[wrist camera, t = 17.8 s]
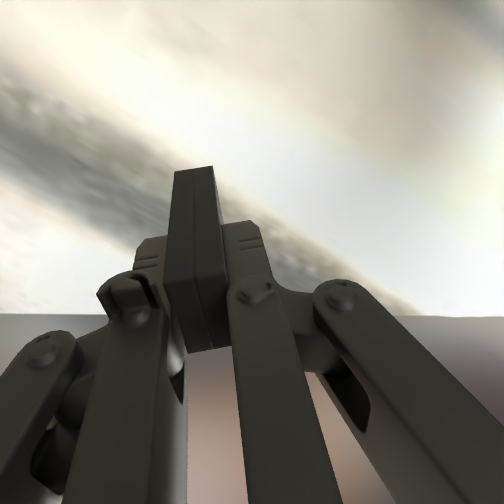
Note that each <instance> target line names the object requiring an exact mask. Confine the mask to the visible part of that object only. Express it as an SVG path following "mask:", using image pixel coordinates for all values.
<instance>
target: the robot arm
mask: <svg viewBox="0 0 504 504" xmlns="http://www.w3.org/2000/svg"><path fill="white" fill-rule="evenodd" d="M134 260H135V262H134V264H133V268H132V269H133V270H132V271H127V272H123V273H120V274H117V275H116V276H114V277H112V278H110V279H108V280H107V281H106V282H105V283H104V284H103V285H102V286H101V287H100V288H99V290H98V292H97V293H96V295H97V297H98V299H99V301H100V303H101V304H102V306H103V308H104V310H105V312H106V314H107V315H108V317H109V322H108V324H107V325H106V326H104V327H102V328H100V329H98V330H96V331H94V332H91V333H89V334H87V335H84V336H82V337H79V338H77V339H75V338H74V337H73V336H72V334H71V333H69V332H67V331H62V330H58V331H51V332H48V333H45V334H43V335H40V336H38V337H37V338H35V339H34V340H32V341H31V342H29V343H28V344H26V345H25V346H24V347H23V349H22V350H21V351H20V352H19V353H18V354H17V355H16V357H15V358H14V359H13V361H12V362H11V363H10V364H9V366H8V367H7V369H6V370H5V371H4V373H3V374H2V375H1V376H0V504H187V449H188V446H187V445H188V443H187V442H188V368H187V364H186V361H185V358H184V344H185V346H186V349H187V352H188V354H190V353H195V352H200V351H206V350H211V349H217V348H222V347H227V346H232V354H233V363H234V373H235V382H236V391H237V400H238V410H239V418H240V429H241V437H242V447H243V456H244V466H245V475H246V484H247V493H248V503H249V504H343V502H342V498H341V495H340V491H339V488H338V485H337V481H336V478H335V475H334V471H333V468H332V464H331V461H330V458H329V454H328V451H327V447H326V444H325V441H324V437H323V434H322V430H321V427H320V424H319V420H318V417H317V414H316V410H315V407H314V404H313V400H312V397H311V393H310V390H309V386H308V383H307V380H306V376H305V373H304V371H306V372H314V373H315V374H316V376H317V377H318V379H319V381H320V382H321V384H322V386H323V387H324V389H325V390H326V392H327V393H328V395H329V397H330V398H331V400H332V402H333V403H334V405H335V406H336V408H337V409H338V411H339V413H340V414H341V416H342V417H343V419H344V421H345V422H346V424H347V425H348V427H349V428H350V430H351V432H352V433H353V435H354V437H355V438H356V440H357V441H358V443H359V444H360V446H361V448H362V449H363V451H364V453H365V454H366V455H367V457H368V459H369V461H370V462H371V463H372V465H373V467H374V468H375V470H376V472H377V473H378V475H379V476H380V478H381V480H382V481H383V483H384V484H385V486H386V488H387V489H388V491H389V492H390V494H391V496H392V497H393V499H394V500H395V502H396V504H504V426H503V425H502V424H501V423H500V422H499V421H498V420H497V419H496V418H495V417H494V416H493V415H492V414H491V413H489V411H488V410H487V409H486V408H485V407H484V406H483V405H482V404H481V403H480V402H478V400H477V399H476V398H475V397H474V396H473V395H472V394H471V393H470V392H469V391H468V390H467V389H465V387H464V386H463V385H462V384H461V383H460V382H459V381H458V380H457V379H456V378H455V377H454V376H453V375H452V374H451V373H450V372H448V370H446V368H444V366H442V364H441V363H440V362H438V361H437V360H436V358H434V357H433V356H432V355H431V354H430V353H429V352H428V351H427V350H426V349H425V348H424V347H423V346H422V345H421V344H420V343H419V342H418V341H417V340H416V339H415V338H414V337H413V336H412V335H411V334H410V333H409V332H408V331H407V330H406V329H405V328H404V327H403V326H402V325H401V324H400V323H399V322H398V321H397V320H396V319H395V318H394V317H393V316H392V315H391V314H390V313H389V312H388V311H387V310H386V309H385V308H384V307H383V306H382V305H381V304H380V303H379V302H378V301H377V300H376V299H375V298H374V297H373V296H372V295H371V294H370V293H369V292H368V291H367V290H366V289H365V288H363V287H362V286H361V285H359V284H358V283H355V282H352V281H349V280H342V279H334V280H330V281H326V282H324V283H322V284H320V285H319V286H318V287H317V288H316V289H315V291H314V292H313V293H304V292H295V291H291V290H288V289H285V288H284V287H282V286H280V285H279V284H278V283H277V282H276V281H275V279H274V277H273V275H272V271H271V268H270V264H269V261H268V257H267V254H266V250H265V247H264V244H263V240H262V237H261V233H260V230H259V227H258V226H257V225H256V224H254V223H253V222H252V221H251V220H247V221H242V222H236V223H230V224H224V223H223V218H222V212H221V207H220V202H219V197H218V191H217V186H216V181H215V176H214V171H213V166H207V167H201V168H194V169H188V170H182V171H176V172H175V173H174V182H173V191H172V200H171V209H170V218H169V227H168V235H165V236H159V237H153V238H147V239H145V240H144V241H143V242H142V243H141V245H140V246H139V247H138V248H137V251H136V255H135V259H134Z"/></svg>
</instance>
